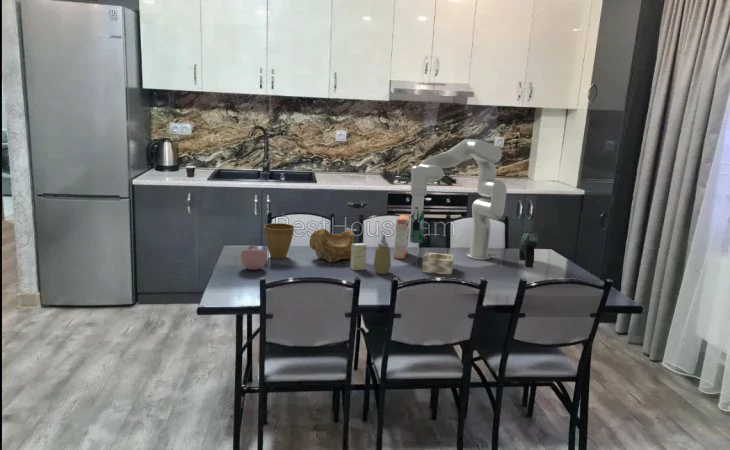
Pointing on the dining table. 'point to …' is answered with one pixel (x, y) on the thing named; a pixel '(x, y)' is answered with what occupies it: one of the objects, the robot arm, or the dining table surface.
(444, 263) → the well block
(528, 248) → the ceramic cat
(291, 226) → the plant pot
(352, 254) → the skincare box
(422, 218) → the can
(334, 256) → the rough brown rock
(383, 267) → the squeeze bottle
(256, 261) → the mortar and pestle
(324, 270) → the dining table surface
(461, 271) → the dining table surface
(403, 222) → the cracker box
